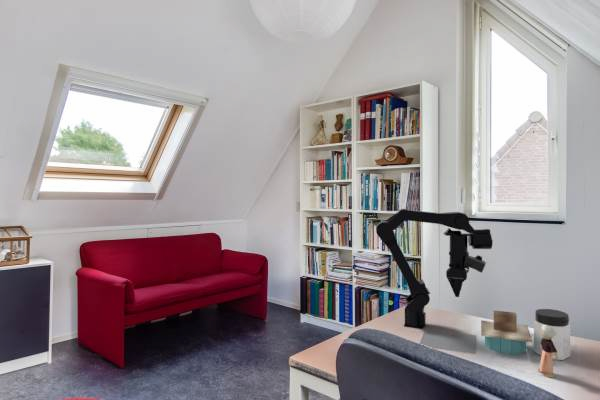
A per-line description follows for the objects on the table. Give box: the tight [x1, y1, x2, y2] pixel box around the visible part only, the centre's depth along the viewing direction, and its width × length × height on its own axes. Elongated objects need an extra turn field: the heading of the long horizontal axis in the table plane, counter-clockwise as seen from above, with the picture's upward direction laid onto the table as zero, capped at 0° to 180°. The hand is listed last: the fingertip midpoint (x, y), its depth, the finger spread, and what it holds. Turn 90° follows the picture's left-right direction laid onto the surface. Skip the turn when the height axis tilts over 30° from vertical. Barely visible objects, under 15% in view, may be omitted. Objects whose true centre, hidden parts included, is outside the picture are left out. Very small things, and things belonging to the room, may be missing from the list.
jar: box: [533, 308, 571, 361], centre depth 116 cm, size 9×8×12 cm
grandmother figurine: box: [537, 325, 558, 378], centre depth 103 cm, size 8×4×13 cm, turn 5°
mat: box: [419, 328, 477, 355], centre depth 126 cm, size 16×16×1 cm
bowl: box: [484, 336, 527, 355], centre depth 121 cm, size 11×11×5 cm
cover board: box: [480, 310, 533, 343], centre depth 120 cm, size 13×13×6 cm
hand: (458, 293), depth 138 cm, fingers open, 9 cm apart
